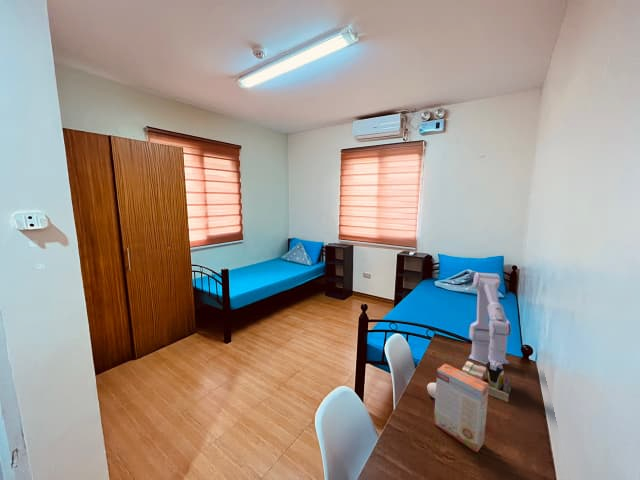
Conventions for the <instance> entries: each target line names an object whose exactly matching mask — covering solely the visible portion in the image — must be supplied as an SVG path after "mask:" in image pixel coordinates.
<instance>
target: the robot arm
mask: <svg viewBox="0 0 640 480" xmlns="http://www.w3.org/2000/svg"><path fill="white" fill-rule="evenodd" d="M500 285H501V276H500V275H499V274H498V273H491V272H490V273H488V272H486V273H485V272H475V273H474V274H473V288H474V289H476V291H477V292H476V293H477V298H476V299H477V302H476V320H475V321H474V322H472V323H471V324H470V326H469V331H468V334H469V339H470V340H471V341H472V342H471V343H472V344H471V353H470V354H469V356H468V359H469V360H473V361H475V362H477V363H481V364H484V365H485V368H486V370H487V371H488V372H489V377H490V381H492V382H494V383H496V382H497V380H498V377H499V375H500V373H501V372H502V371H504V368H503V369H500V368H498V366H500V365H502V366H505V364H506V365H508V364H509V360H507V359H506V355H507V354H506V353H507V346H508V345H507V343H508V336H510V335H511V333H512V327H511V322H510V321H509V319H508V318H506V314H505V310H504V307H503V305H502V304H501V303H500V302H499V295H498V294H499V293H498V289H499V286H500Z"/></svg>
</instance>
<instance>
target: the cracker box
mask: <svg viewBox="0 0 640 480" xmlns="http://www.w3.org/2000/svg"><path fill="white" fill-rule="evenodd" d="M436 370H437V371H436V382H435V383H436V397H435V398H434V401H435V402H434V415H433V417H434V418H433V424H434V425H435V426H437V427H438V428H439V429H440V430H442V431H444V432H445V433H447V434H448V435H450V436H451V437H453V438H455V440H457V441H458V442H459V443H462V444H463V445H465V446H466V447H467V448H468V449H470V450H472V451H473V452H475V453H478V452H479V451H480V449H481V448H482V446H484V444H485V433H486V425H487V424H486V421H487V410H488V399H489V394H488V388H489V384H488V383H487V381H485V380H484V381H482V380H480V379H478V378H475V377H473V376H471V375H469V374H467V373H465V372H462V370H460V369H459V368H456V367H454V366H452V365H450V364H447V363H444V364H442V365H441V366H440V367H438V368H437V369H436Z"/></svg>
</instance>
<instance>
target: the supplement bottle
mask: <svg viewBox="0 0 640 480" xmlns="http://www.w3.org/2000/svg"><path fill="white" fill-rule="evenodd" d="M503 366H504V365H503ZM503 366H502V365H500V366H498V368H500V369H503V371H502V372H501V373H500V375H499V377H498V380H497V382H496V383H494V382H492V381H490V377H489V372H488V373H487V380H486V383H488V384H489V386H490V387H492V388H495V389H497V390H500V389H503V386H504V384H503V383H504V375H505V373H504V368H503Z"/></svg>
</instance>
